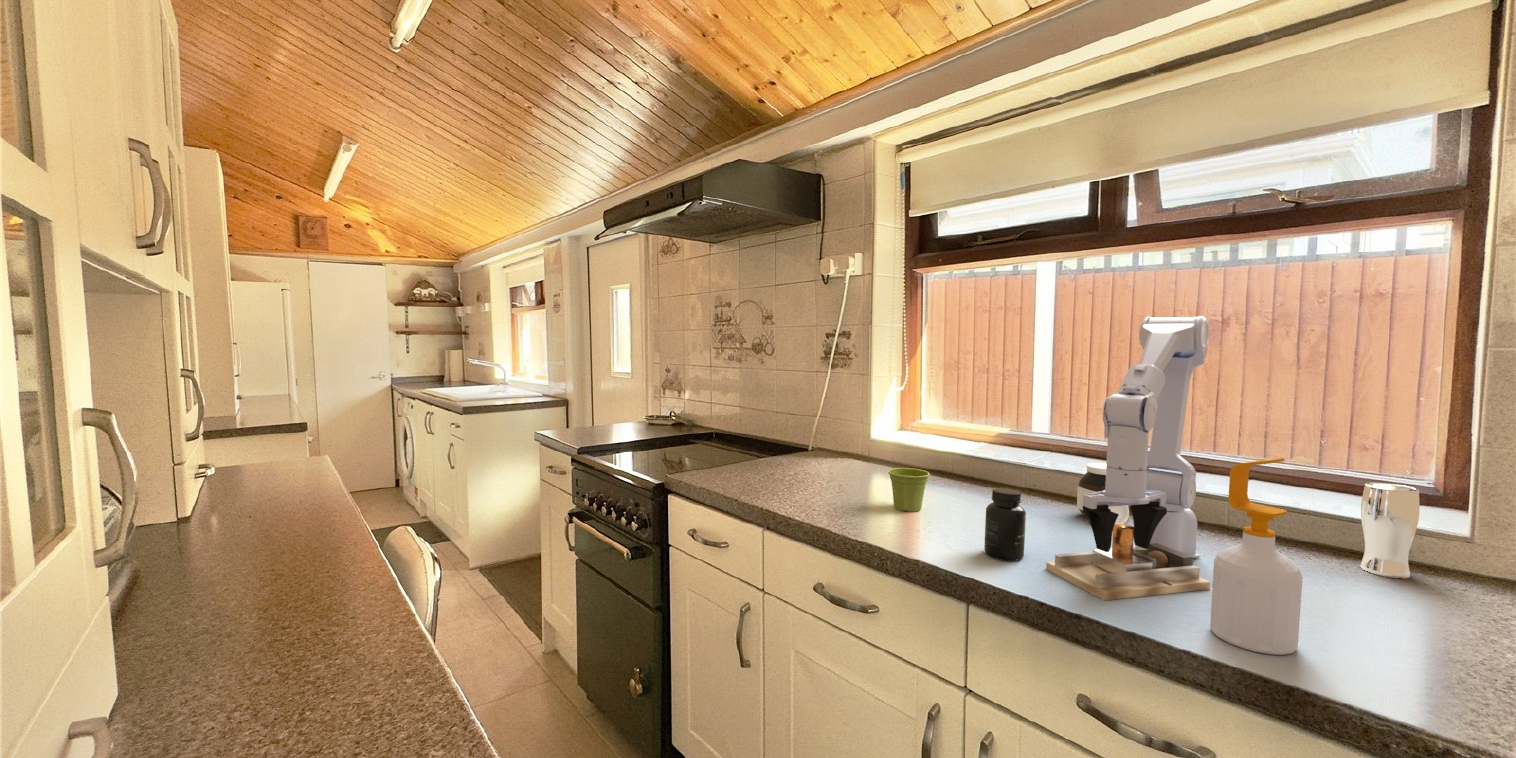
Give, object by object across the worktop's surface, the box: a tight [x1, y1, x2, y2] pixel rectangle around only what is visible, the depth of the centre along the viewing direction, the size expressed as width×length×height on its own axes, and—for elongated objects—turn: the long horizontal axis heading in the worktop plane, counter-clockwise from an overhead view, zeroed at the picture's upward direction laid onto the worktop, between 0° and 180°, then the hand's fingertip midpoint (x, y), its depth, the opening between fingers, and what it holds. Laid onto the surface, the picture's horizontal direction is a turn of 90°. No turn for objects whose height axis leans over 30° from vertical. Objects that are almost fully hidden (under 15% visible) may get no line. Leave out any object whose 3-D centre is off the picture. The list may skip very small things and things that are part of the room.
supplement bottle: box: [983, 487, 1027, 562], centre depth 113 cm, size 7×7×12 cm
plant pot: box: [887, 467, 931, 513], centre depth 143 cm, size 9×9×9 cm
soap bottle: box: [1209, 457, 1303, 656], centre depth 81 cm, size 9×9×25 cm
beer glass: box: [1359, 481, 1421, 580], centre depth 106 cm, size 7×7×15 cm
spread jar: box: [1076, 462, 1130, 524], centre depth 135 cm, size 12×11×12 cm
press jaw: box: [1092, 523, 1157, 573], centre depth 102 cm, size 6×7×7 cm
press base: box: [1045, 543, 1211, 601], centre depth 102 cm, size 20×13×4 cm, turn 103°
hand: (1122, 548), depth 102 cm, fingers open, 7 cm apart
